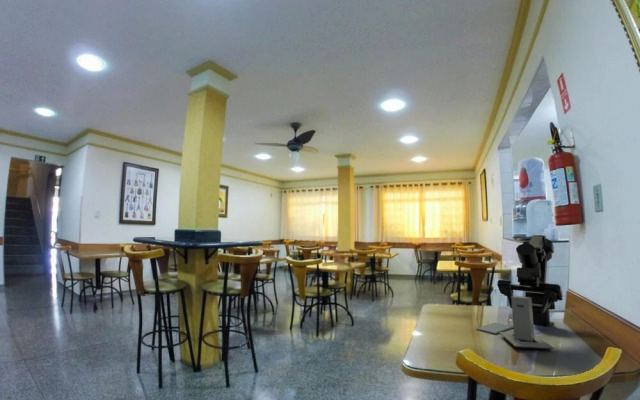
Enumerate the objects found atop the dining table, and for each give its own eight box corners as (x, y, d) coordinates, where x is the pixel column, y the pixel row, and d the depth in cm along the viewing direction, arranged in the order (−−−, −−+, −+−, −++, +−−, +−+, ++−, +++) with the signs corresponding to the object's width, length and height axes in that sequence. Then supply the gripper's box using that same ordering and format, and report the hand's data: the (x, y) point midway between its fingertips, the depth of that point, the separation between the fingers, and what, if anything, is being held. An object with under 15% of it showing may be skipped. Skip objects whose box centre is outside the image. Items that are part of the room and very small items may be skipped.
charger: (517, 335, 103) (514, 295, 105) (534, 338, 100) (531, 297, 102) (514, 338, 100) (511, 296, 102) (531, 341, 97) (528, 298, 99)
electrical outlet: (554, 354, 93) (553, 346, 93) (515, 352, 95) (514, 344, 95) (533, 340, 106) (533, 332, 106) (499, 338, 108) (499, 331, 108)
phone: (495, 325, 123) (495, 322, 123) (514, 329, 117) (514, 326, 117) (476, 331, 115) (476, 328, 115) (495, 336, 110) (495, 333, 110)
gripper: (496, 257, 117) (490, 291, 108) (558, 260, 104) (556, 299, 95) (503, 276, 122) (498, 310, 113) (563, 281, 109) (562, 320, 100)
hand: (526, 309), depth 105 cm, fingers open, 9 cm apart
